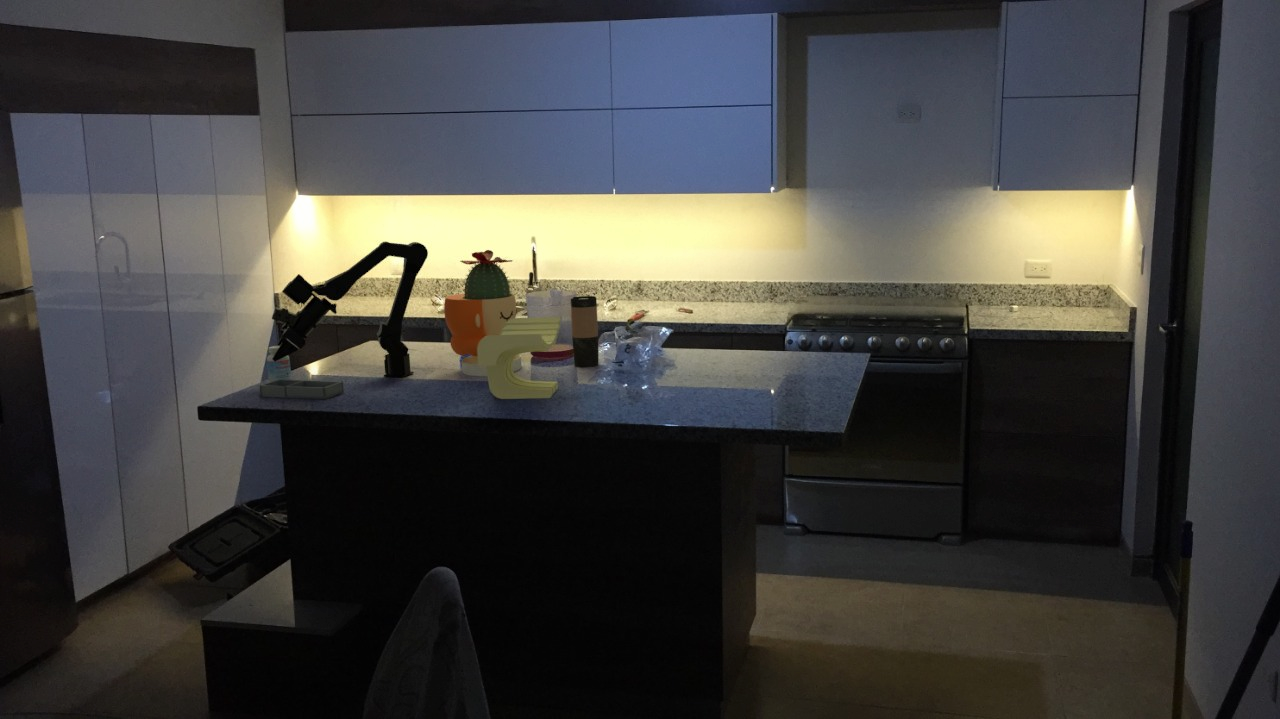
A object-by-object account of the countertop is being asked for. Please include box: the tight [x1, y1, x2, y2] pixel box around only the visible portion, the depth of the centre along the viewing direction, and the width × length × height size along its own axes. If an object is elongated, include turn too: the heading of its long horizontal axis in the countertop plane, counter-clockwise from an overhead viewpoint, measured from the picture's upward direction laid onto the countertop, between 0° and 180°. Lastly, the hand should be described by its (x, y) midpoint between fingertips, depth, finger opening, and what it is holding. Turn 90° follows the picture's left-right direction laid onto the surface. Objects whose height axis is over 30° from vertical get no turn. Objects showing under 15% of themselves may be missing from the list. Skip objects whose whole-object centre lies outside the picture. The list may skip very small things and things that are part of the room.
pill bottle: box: [266, 345, 292, 383], centre depth 308 cm, size 6×6×11 cm
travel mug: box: [570, 295, 599, 368], centre depth 323 cm, size 8×8×20 cm
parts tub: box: [259, 379, 345, 400], centre depth 295 cm, size 20×8×3 cm, turn 71°
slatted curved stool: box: [477, 316, 562, 400], centre depth 285 cm, size 30×16×18 cm, turn 175°
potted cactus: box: [443, 249, 523, 377], centre depth 321 cm, size 22×22×35 cm
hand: (273, 357), depth 307 cm, fingers open, 9 cm apart
